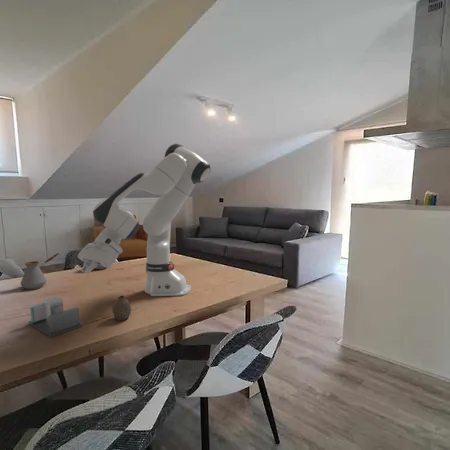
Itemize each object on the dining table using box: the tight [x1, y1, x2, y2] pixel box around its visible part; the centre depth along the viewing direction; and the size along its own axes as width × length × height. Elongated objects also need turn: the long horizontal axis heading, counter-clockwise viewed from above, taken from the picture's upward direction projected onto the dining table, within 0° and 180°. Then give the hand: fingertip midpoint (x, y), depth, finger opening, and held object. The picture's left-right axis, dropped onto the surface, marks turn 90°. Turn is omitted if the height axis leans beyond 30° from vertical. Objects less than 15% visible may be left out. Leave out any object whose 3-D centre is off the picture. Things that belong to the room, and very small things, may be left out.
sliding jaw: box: [29, 302, 45, 323], centre depth 123 cm, size 2×10×6 cm, turn 143°
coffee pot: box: [20, 252, 61, 291], centre depth 169 cm, size 21×12×15 cm, turn 154°
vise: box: [27, 306, 83, 338], centre depth 119 cm, size 18×11×7 cm, turn 53°
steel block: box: [43, 296, 64, 325], centre depth 118 cm, size 4×4×9 cm
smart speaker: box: [93, 265, 108, 271], centre depth 202 cm, size 10×9×14 cm
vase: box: [112, 295, 132, 321], centre depth 125 cm, size 7×7×9 cm
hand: (84, 271), depth 127 cm, fingers closed
